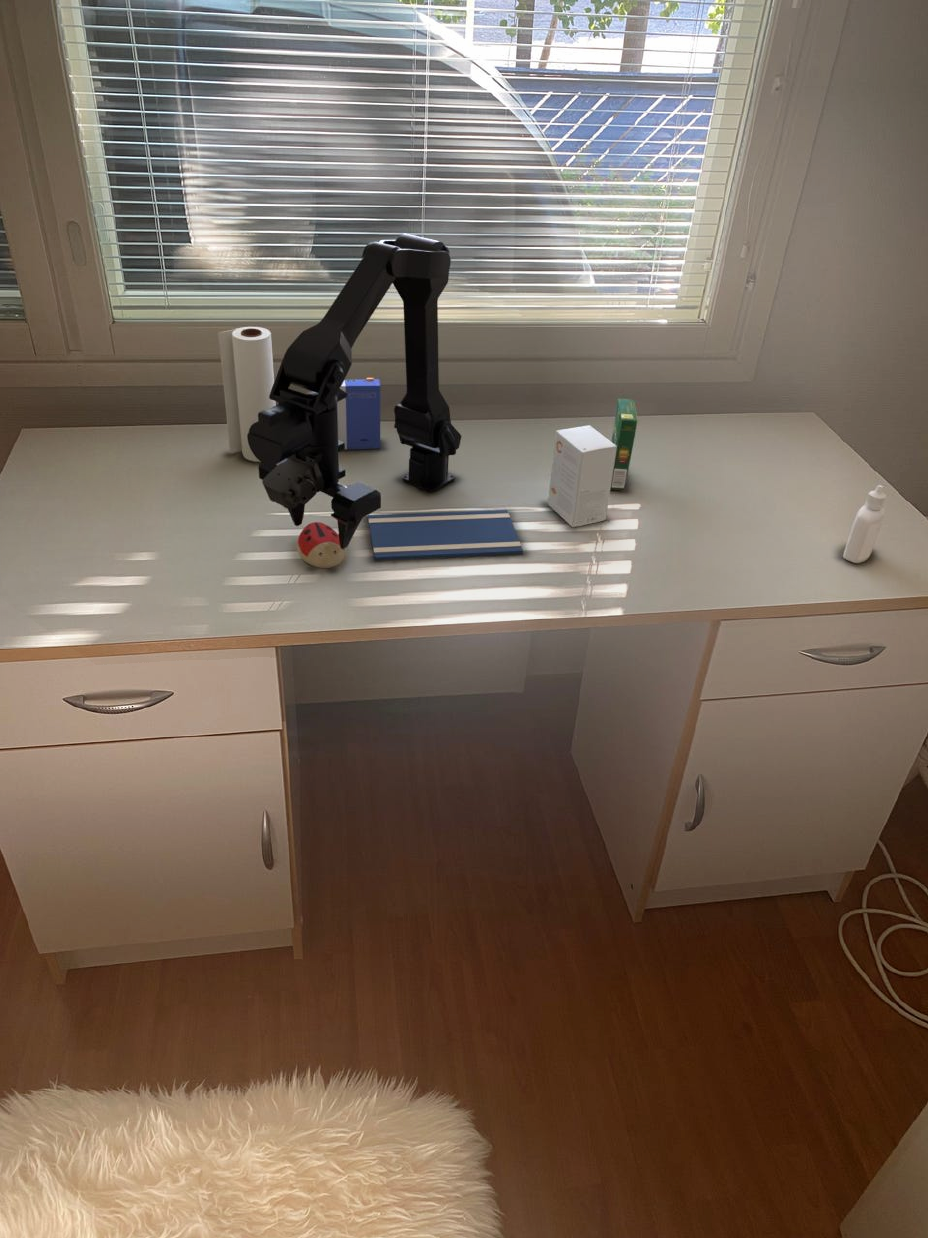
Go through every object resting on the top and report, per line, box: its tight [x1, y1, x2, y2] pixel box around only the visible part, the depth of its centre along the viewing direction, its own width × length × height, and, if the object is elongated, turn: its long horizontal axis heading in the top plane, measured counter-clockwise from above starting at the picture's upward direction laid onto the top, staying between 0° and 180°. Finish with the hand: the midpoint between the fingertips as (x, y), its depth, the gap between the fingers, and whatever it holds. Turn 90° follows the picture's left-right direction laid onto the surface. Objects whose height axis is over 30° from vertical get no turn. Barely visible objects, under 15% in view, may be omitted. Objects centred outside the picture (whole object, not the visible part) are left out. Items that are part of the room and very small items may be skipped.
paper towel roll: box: [217, 326, 277, 463], centre depth 159 cm, size 7×6×21 cm
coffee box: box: [610, 398, 639, 492], centre depth 161 cm, size 8×3×13 cm, turn 176°
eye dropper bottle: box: [842, 484, 887, 564], centre depth 145 cm, size 4×6×12 cm
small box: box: [547, 425, 617, 528], centre depth 151 cm, size 8×6×13 cm
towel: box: [367, 509, 524, 562], centre depth 147 cm, size 22×12×1 cm, turn 100°
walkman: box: [337, 377, 381, 451], centre depth 166 cm, size 8×3×12 cm, turn 99°
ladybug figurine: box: [296, 521, 346, 569], centre depth 140 cm, size 7×10×4 cm
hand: (320, 536), depth 140 cm, fingers open, 9 cm apart
